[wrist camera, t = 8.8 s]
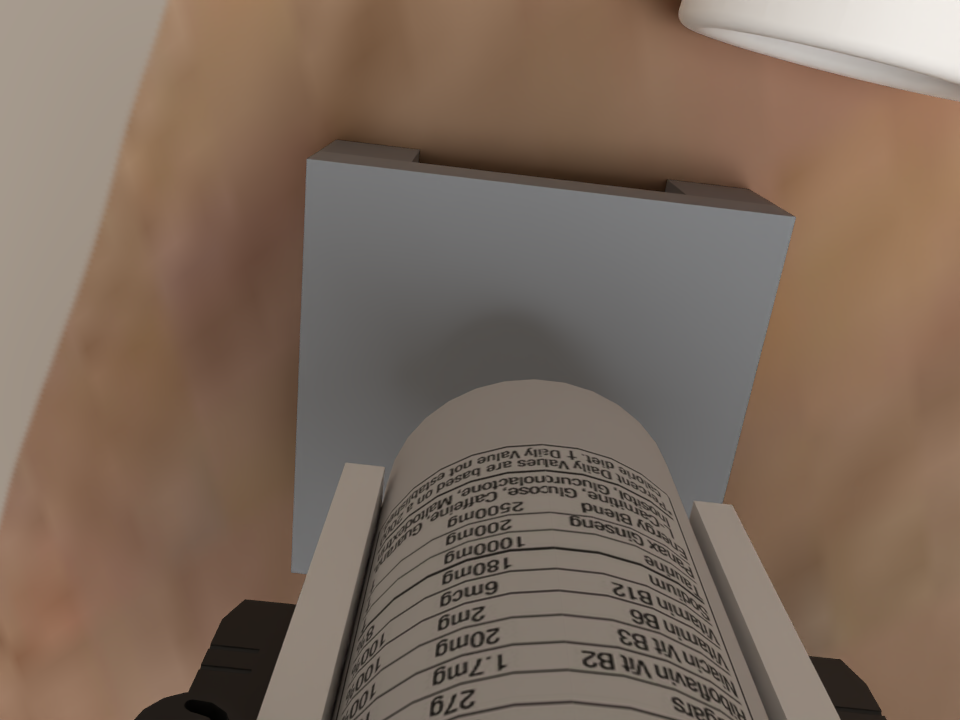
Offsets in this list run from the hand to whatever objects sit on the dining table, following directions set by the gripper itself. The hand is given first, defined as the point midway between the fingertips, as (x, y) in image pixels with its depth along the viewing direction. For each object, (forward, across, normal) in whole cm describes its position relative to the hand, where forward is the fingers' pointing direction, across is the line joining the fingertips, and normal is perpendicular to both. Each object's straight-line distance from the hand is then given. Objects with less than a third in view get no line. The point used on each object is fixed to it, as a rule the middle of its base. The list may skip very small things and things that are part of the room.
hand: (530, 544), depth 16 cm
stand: (+10, 0, 0) cm, 10 cm away
